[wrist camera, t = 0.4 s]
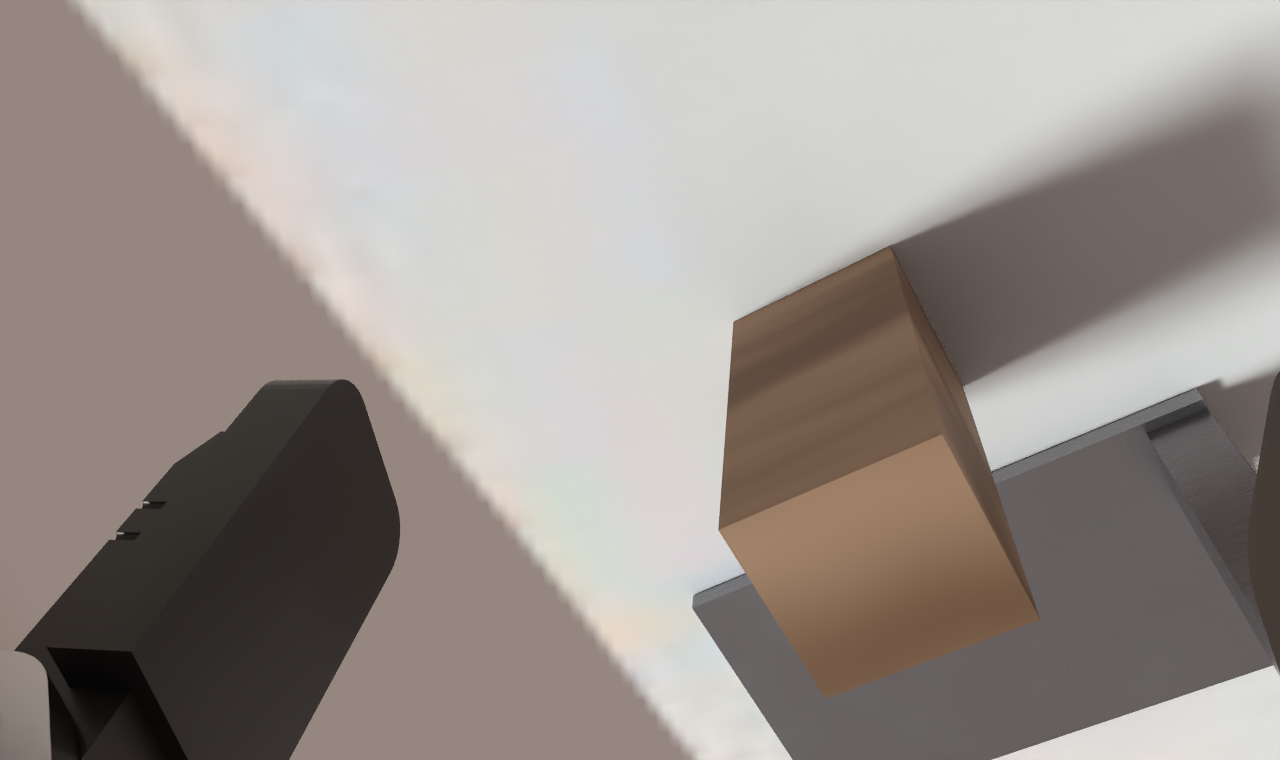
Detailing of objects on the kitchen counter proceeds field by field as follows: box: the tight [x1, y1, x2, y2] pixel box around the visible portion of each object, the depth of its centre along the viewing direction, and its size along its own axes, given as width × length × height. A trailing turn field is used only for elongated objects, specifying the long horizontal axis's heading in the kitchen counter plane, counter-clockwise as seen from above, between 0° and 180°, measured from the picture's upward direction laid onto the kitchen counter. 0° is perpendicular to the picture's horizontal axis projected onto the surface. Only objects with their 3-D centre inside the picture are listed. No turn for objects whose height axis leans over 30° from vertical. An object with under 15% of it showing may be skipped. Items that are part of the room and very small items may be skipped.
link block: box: [719, 246, 1040, 699], centre depth 27 cm, size 4×4×10 cm
